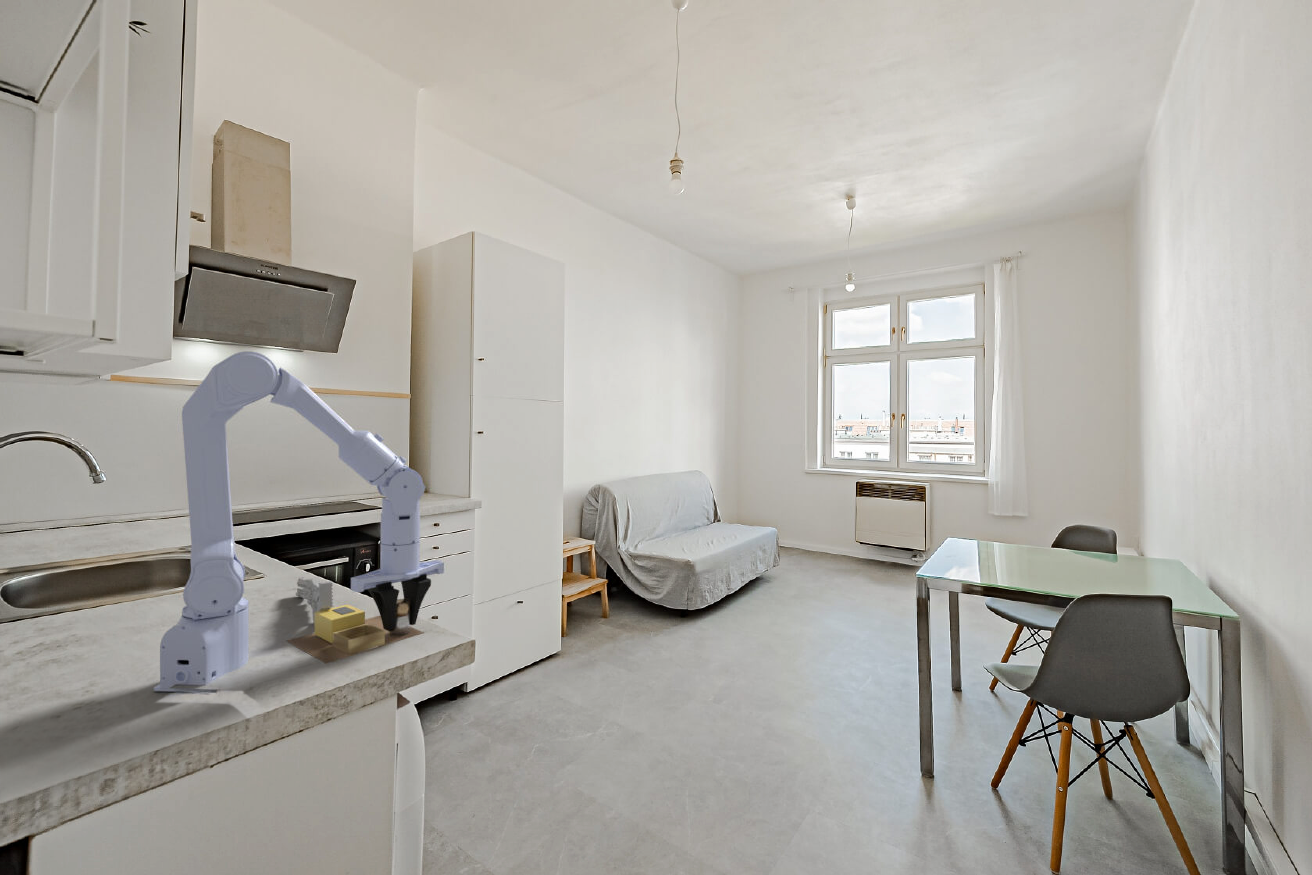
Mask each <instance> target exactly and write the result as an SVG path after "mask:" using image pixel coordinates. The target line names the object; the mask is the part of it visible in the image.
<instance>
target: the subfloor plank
mask: <svg viewBox="0 0 1312 875" xmlns="http://www.w3.org/2000/svg"><path fill="white" fill-rule="evenodd" d="M421 634H422V635H423V634H425V632H424V631H422V630H420V629H416V628H415V627H412V626H410V633H408V634H406V635H403V636H391V635H389V631H387V630H385V629H384V628H383V623H382V619H381V616H380V615H377V616H373V617H370V618H365V624H363V625H359V626H356V627H352V628H348V629H345V630H341V631H337V632H334V633H332V643H330V642H328V641H326V640H324V639H322V638H321V637H319V636H317V635H315V632H313V633H310V634H305V635H302V636H298V637H294V638H290V639H287V640H285V642H287V643H288V644H290V645H292V646H294V647H296V648H297V649H299V650H301V651H303V652H304V653H306V654H308V655H310V656H311V657H313V658H315V659H317V660H319V661H320V662H322V663H324V664H329V663H333V662H335V661H338V660H341V659H345V658H348V657H352V656H355V655H358V654H361V653H364V652H367V651H371V650H374V649H378V648H380V647H383V646H386V645H390V644H394V643H396V642H399V641H402V640H406V639H410V638H412V637H415V636H419V635H421Z"/></svg>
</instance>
